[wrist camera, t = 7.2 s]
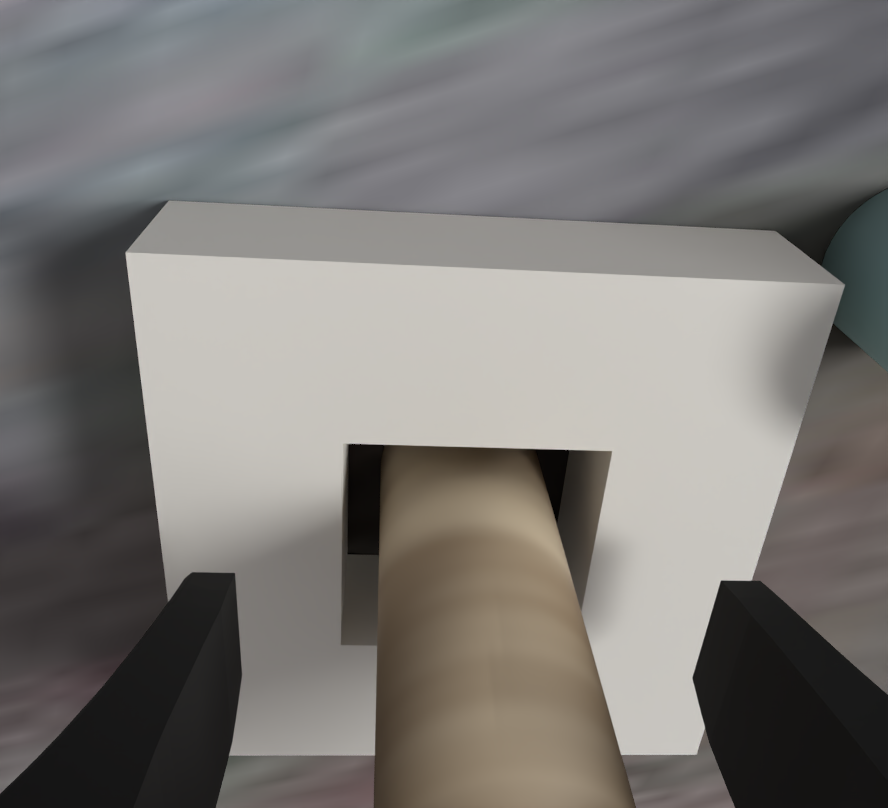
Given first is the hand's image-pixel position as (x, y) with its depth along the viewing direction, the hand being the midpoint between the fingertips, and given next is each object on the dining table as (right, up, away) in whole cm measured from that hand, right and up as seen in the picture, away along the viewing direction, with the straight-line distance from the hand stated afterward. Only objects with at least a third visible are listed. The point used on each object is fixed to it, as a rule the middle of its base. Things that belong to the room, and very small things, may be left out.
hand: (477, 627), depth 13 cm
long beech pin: (0, +2, +4) cm, 4 cm away
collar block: (0, +2, +4) cm, 4 cm away
